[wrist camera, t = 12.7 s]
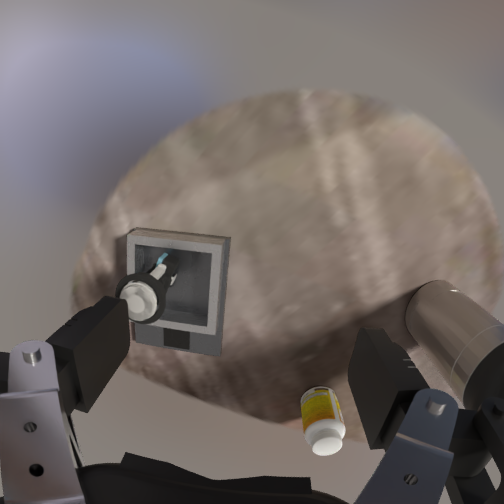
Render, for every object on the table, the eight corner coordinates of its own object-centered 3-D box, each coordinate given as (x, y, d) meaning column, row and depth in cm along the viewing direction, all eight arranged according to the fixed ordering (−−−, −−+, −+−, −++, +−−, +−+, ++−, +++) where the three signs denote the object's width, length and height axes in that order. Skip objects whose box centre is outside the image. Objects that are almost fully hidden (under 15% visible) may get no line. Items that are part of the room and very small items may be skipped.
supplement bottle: (292, 401, 44) (296, 450, 35) (317, 378, 43) (327, 427, 33) (318, 416, 45) (326, 463, 35) (343, 394, 44) (357, 442, 34)
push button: (174, 307, 40) (149, 347, 30) (137, 289, 39) (103, 324, 30) (192, 261, 38) (169, 292, 28) (153, 243, 38) (118, 268, 28)
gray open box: (230, 237, 38) (226, 245, 34) (221, 351, 43) (217, 369, 38) (136, 227, 39) (123, 234, 34) (138, 338, 43) (128, 353, 39)
